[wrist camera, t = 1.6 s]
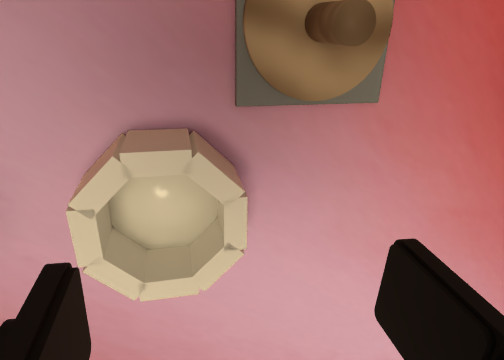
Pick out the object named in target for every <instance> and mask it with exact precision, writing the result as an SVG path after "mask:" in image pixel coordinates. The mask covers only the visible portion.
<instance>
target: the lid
mask: <svg viewBox="0 0 504 360" xmlns="http://www.w3.org/2000/svg"><path fill="white" fill-rule="evenodd" d="M392 20H393V0H245V4H244V9H243V33H244V39H245V44H246V48H247V51H248V54H249V56H250V58H251V61H252V63H253V65H254V66H255V68H256V69H257V71H258V72H259V74H260V75H261V76H262V77H263V79H264V80H265V81H267V82H268V83H269V84H270V85H271V86H272V87H274V88H275V89H277V90H278V91H280V92H281V93H283V94H285V95H287V96H289V97H292V98H295V99H299V100H304V101H323V100H328V99H332V98H335V97H337V96H340V95H342V94H344V93H346V92H348V91H350V90H351V89H352V88H354V87H355V86H357V85H358V84H359V83H360V82H361V81H363V80H364V79H365V78H366V76H367V75H368V74H369V73H370V72H371V71H372V69H373V68H374V67H375V65H376V64H377V62H378V61H379V59H380V57H381V56H382V54H383V51H384V49H385V47H386V45H387V42H388V39H389V36H390V31H391V27H392Z"/></svg>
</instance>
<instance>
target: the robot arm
mask: <svg viewBox="0 0 504 360" xmlns="http://www.w3.org/2000/svg"><path fill="white" fill-rule="evenodd" d="M375 317H376V319H377V321H378V323H379V324H380V325H381V327H382V328H383V330H384V331H385V333H386V334H387V336H388V337H389V338H390V340H391V341H392V343H393V344H394V346H395V347H396V349H397V350H398V352H399V353H400V354H401V356H402V357H403V359H404V360H504V316H503V315H502V314H501V313H500V312H499V311H498V310H497V309H495V308H494V307H493V306H492V305H491V304H490V303H489V302H487V301H486V300H485V299H484V298H483V297H482V296H481V295H479V294H478V293H477V292H476V291H475V290H474V289H473V288H472V287H470V286H469V285H468V284H467V283H466V282H465V281H464V280H462V279H461V278H460V277H459V276H458V275H457V274H456V273H454V272H453V271H452V270H451V269H450V268H449V267H448V266H446V265H445V264H444V263H443V262H442V261H441V260H440V259H439V258H437V257H436V256H435V255H434V254H433V253H432V252H431V251H429V250H428V249H427V248H426V247H425V246H424V245H423V244H421V243H420V242H419V241H418V240H416V239H400V240H396V241H395V242H394V244H393V245H391V246H390V249H389V253H388V257H387V261H386V265H385V269H384V273H383V277H382V281H381V285H380V289H379V293H378V297H377V301H376V305H375ZM90 353H91V338H90V332H89V326H88V320H87V314H86V308H85V302H84V296H83V290H82V284H81V278H80V272H79V269H78V268H77V267H76V268H72V266H71V264H70V263H55V264H46V265H45V266H44V267H43V269H42V271H41V273H40V274H39V276H38V278H37V280H36V282H35V284H34V286H33V287H32V289H31V291H30V293H29V295H28V297H27V299H26V300H25V302H24V304H23V306H22V308H21V310H20V312H19V313H18V315H17V317H16V319H8V320H6V321H5V322H3V324H2V325H1V326H0V360H89V358H90Z"/></svg>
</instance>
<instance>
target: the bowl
mask: <svg viewBox="0 0 504 360" xmlns="http://www.w3.org/2000/svg"><path fill="white" fill-rule="evenodd" d="M66 214H67V219H68V223H69V228H70V232H71V237H72V241H73V246H74V250H75V255H76V259H77V264H78V267H84V268H83V271H82V272H83V273H85V274H87V275H89V276H90V277H92V278H94V279H96V280H98V281H99V282H101V283H103V284H105V285H107V286H109V287H110V288H112V289H114V290H116V291H118V292H119V293H121V294H123V295H125V296H127V297H129V298H130V299H132V300H135V299H136V298H137V297H138V296H139V295H140V302H141V301H149V300H157V299H164V298H172V297H180V296H187V295H195V294H199V288H200V289H202V290H203V291H206V290H207V289H208V288H209V287H210V286H211V285H212V284H213V283H214V282H215V281H216V280H217V279H218V278H219V277H220V276H222V275H223V274H224V273H225V272H226V271H227V270H228V269H229V268H230V267H231V266H232V265H233V264H234V263H235V262H236V261H237V260H238V259H239V258H241V257H242V256H243V255H244V251H243V249H247V195H246V193H245V190H244V188H243V186H242V184H241V181H240V179H239V177H238V175H237V172H236V170H235V168H234V166H233V165H232V164H231V163H230V162H229V161H228V160H227V159H226V158H225V157H223V156H222V155H221V154H220V153H219V152H218V151H217V150H215V149H214V148H213V147H212V146H211V145H210V144H209V143H207V142H206V141H205V140H204V139H203V138H202V137H201V136H199V135H198V134H197V133H196V132H195V131H194V130H193V131H192V133H191V134H190V135H189V132H188V128H182V129H156V130H130V131H128V132H127V134H126V136H125V135H124V134H123V133H122V134H121V135H120V136H119V137H118V138H117V139H116V140H115V142H114V143H113V144H112V145H111V146H110V147H109V148H108V149H107V150H106V151H105V153H104V154H103V155H102V156H101V157H100V158H99V159H98V160H97V161H96V162H95V164H94V165H93V166H92V167H91V168H90V169H89V170H88V171H87V172H86V173H85V175H84V176H83V178H82V180H81V182H80V184H79V185H78V187H77V189H76V191H75V193H74V194H73V196H72V198H71V200H70V202H69V203H68V208H67V210H66Z"/></svg>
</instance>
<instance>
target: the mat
mask: <svg viewBox="0 0 504 360" xmlns="http://www.w3.org/2000/svg"><path fill="white" fill-rule="evenodd" d="M394 3H395V0H393V9H394ZM244 4H245V0H235V105H236V106H274V105H311V104H348V103H378V100H379V94H380V88H381V82H382V76H383V70H384V64H385V57H386V51H387V45H388V42H387V45H386V47H385V49H384V51H383V54H382V56H381V57H380V59H379V61H378V62H377V64H376V65H375V67H374V68H373V69H372V71H371V72H370V73H369V74H368V75H367V76H366V78H365V79H364V80H363V81H361V82H360V83H359V84H358V85H357V86H355V87H354V88H352V89H351V90H350V91H348V92H346V93H344V94H342V95H340V96H337V97H335V98H332V99H328V100H323V101H304V100H299V99H295V98H292V97H289V96H287V95H285V94H283V93H281V92H280V91H278V90H277V89H275V88H274V87H272V86H271V85H270V84H269V83H268V82H267V81H265V80H264V79H263V77H262V76H261V75H260V74H259V72H258V71H257V69H256V68H255V66H254V65H253V63H252V61H251V58H250V56H249V54H248V51H247V48H246V44H245V39H244V33H243V9H244Z"/></svg>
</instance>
